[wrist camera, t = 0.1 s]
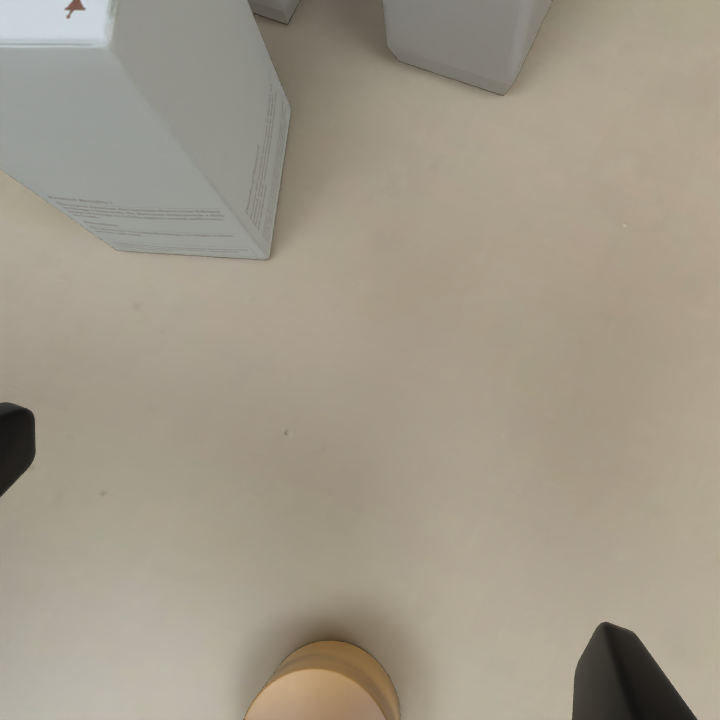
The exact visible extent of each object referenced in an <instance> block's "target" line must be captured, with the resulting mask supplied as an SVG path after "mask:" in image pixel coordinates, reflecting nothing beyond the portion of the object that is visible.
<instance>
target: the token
mask: <svg viewBox="0 0 720 720" xmlns="http://www.w3.org/2000/svg"><path fill="white" fill-rule="evenodd" d="M244 720H400V707H399V701H398V697H397V694H396V691H395V688H394V686H393V684H392V682H391V680H390V678H389V676H388V674H387V673H386V672H385V670H384V669H383V667H382V666H381V665H380V664H379V663H378V662H377V661H376V660H375V659H374V658H373V657H372V656H371V655H369V654H368V653H367V652H365V651H364V650H362V649H360V648H358V647H356V646H354V645H351V644H348V643H345V642H340V641H329V640H328V641H319V642H314V643H311V644H308V645H305V646H303V647H301V648H299V649H298V650H296V651H294V652H293V653H292V654H291V655H289V656H288V657H287V658H286V659H285V660H284V661H283V662H282V663H281V664H280V666H279V667H278V668H277V670H276V671H275V672H274V674H273V675H272V676H271V678H270V679H269V680H268V682H267V683H266V684H265V686H264V687H263V688H262V690H261V691H260V692H259V694H258V695H257V696H256V698H255V699H254V700H253V702H252V703H251V705H250V707H249V709H248V710H247V713H246V715H245V717H244Z"/></svg>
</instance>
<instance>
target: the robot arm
mask: <svg viewBox="0 0 720 720" xmlns="http://www.w3.org/2000/svg"><path fill="white" fill-rule="evenodd" d="M35 452H36V448H35V418H34V415H33V413H32V412H31V411H30V410H29V409H27V408H24V407H21V406H19V405H16V404H13V403H8V402H4V403H0V497H1V496H2V495H3V494H4V493H5V492H6V491H7V490H8V489H9V488H10V487H11V486H12V485H13V484H14V483H15V482H16V480H17V479H18V478H19V477H20V476H21V475H22V474H23V473H24V472H25V471H26V470H27V469H28V468H29V467H30V465H31V464H32V462H33V460H34V457H35ZM572 720H697V718H696V717H695V716H694V714H693V713H692V711H691V710H690V709H689V707H688V706H687V704H686V703H685V702H684V700H683V699H682V697H681V696H680V695H679V693H678V692H677V691H676V689H675V688H674V686H673V685H672V684H671V682H670V681H669V679H668V678H667V677H666V675H665V674H664V672H663V671H662V670H661V668H660V667H659V665H658V664H657V663H656V661H655V660H654V659H653V657H652V656H651V654H650V653H649V652H648V650H647V649H646V647H645V646H644V645H643V643H642V642H641V640H640V639H639V638H638V637H637V635H636V634H635V633H633V632H632V631H630V630H628V629H625V628H622V627H619V626H617V625H614V624H611V623H609V622H603V623H601V624H600V625H599V626H598V627H597V628H596V630H595V632H594V633H593V635H592V637H591V639H590V641H589V643H588V645H587V646H586V648H585V650H584V652H583V654H582V656H581V657H580V659H579V661H578V664H577V667H576V671H575V677H574V693H573V713H572Z"/></svg>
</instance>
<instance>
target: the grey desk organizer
mask: <svg viewBox="0 0 720 720" xmlns="http://www.w3.org/2000/svg"><path fill="white" fill-rule="evenodd" d="M247 1H248V3H249V5H250V8H251V10H252V13H255V14H258V15H261V16H264V17H267V18H270V19H273V20H276V21H279V22H282V23H285V24H288V22H289V20H290V18H291V16H292V15H293V13H294V11H295V9H296V7H297V5H298V3H299V1H300V0H247ZM552 1H553V0H383V8H384V18H385V29H386V39H387V46H388V47H389V48H390V50H391V51H392V53H393V54H394V55H395V57H396V58H397V59H398V61H401V62H404V63H407V64H410V65H413V66H416V67H419V68H422V69H425V70H428V71H431V72H434V73H437V74H440V75H443V76H446V77H449V78H452V79H455V80H458V81H461V82H464V83H467V84H470V85H473V86H476V87H479V88H482V89H485V90H488V91H491V92H494V93H497V94H500V95H504V94H505V93H506V92H507V91H508V89H509V88H510V87H511V86H512V84H513V82H514V81H515V79H516V77H517V76H518V74H519V72H520V70H521V67H522V65H523V63H524V61H525V59H526V57H527V54H528V52H529V50H530V48H531V46H532V44H533V42H534V39H535V37H536V35H537V33H538V31H539V29H540V26H541V24H542V22H543V20H544V18H545V16H546V14H547V11H548V9H549V7H550V5H551V3H552Z"/></svg>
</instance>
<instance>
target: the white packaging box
mask: <svg viewBox="0 0 720 720" xmlns="http://www.w3.org/2000/svg"><path fill="white" fill-rule="evenodd" d="M290 114H291V108H290V105H289V103H288V100H287V98H286V95H285V93H284V91H283V88H282V86H281V83H280V81H279V78H278V75H277V73H276V70H275V68H274V65H273V63H272V60H271V58H270V55H269V53H268V50H267V48H266V45H265V43H264V41H263V38H262V36H261V33H260V31H259V28H258V26H257V23H256V21H255V18H254V15H253V13H252V10H251V8H250V5H249V3H248V1H247V0H0V170H2V171H3V172H5V173H6V174H8V175H9V176H10V177H12V178H13V179H15V180H16V181H18V182H19V183H21V184H22V185H24V186H25V187H27V188H28V189H29V190H31V191H32V192H34V193H35V194H36V195H38V196H39V197H41V198H42V199H44V200H45V201H47V202H48V203H50V204H51V205H52V206H54V207H55V208H57V209H58V210H60V211H61V212H63V213H64V214H66V215H67V216H68V217H70V218H71V219H73V220H74V221H76V222H77V223H78V224H80V225H81V226H82V227H84V228H85V229H87V230H88V231H89V232H91V233H92V234H94V235H95V236H97V237H98V238H100V239H101V240H103V241H104V242H106V243H107V244H108V245H110V246H111V247H112V248H114V249H115V250H119V251H134V252H146V253H163V254H179V255H196V256H212V257H230V258H247V259H262V260H267V259H269V257H270V250H271V244H272V237H273V232H274V224H275V217H276V210H277V204H278V198H279V190H280V184H281V178H282V170H283V163H284V156H285V150H286V142H287V135H288V129H289V121H290Z"/></svg>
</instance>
